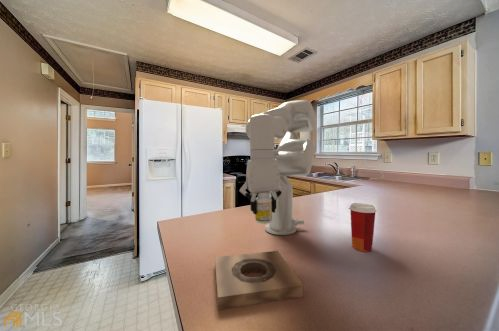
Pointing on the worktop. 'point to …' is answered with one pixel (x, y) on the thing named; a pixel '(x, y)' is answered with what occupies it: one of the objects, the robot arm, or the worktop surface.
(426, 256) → the worktop surface
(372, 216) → the paper cup
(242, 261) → the seat board
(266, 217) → the supplement bottle
